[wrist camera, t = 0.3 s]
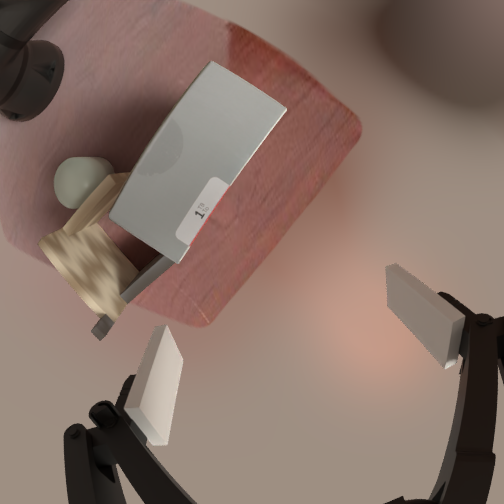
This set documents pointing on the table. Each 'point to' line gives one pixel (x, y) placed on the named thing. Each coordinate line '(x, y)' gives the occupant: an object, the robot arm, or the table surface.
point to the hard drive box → (194, 160)
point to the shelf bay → (99, 258)
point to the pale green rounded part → (79, 179)
